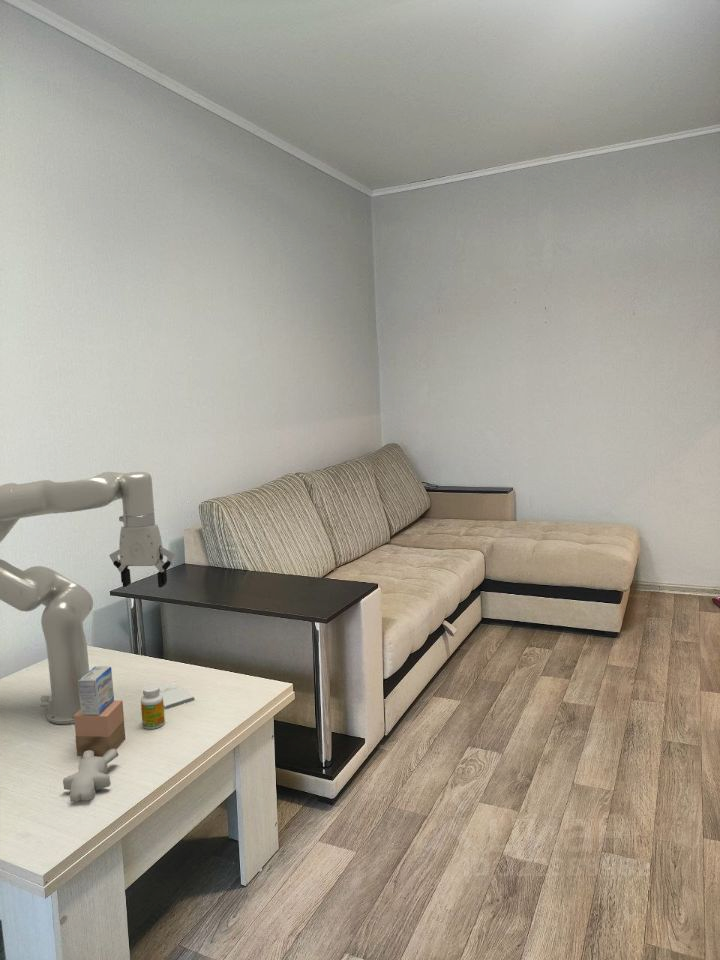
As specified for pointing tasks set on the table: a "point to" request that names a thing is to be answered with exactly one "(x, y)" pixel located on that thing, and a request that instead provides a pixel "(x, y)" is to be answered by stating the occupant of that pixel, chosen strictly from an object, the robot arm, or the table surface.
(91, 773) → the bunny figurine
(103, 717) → the tower top block
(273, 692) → the table surface
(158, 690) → the supplement bottle
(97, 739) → the tower bottom block
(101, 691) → the medicine box
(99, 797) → the table surface
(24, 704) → the table surface
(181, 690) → the external hard drive
